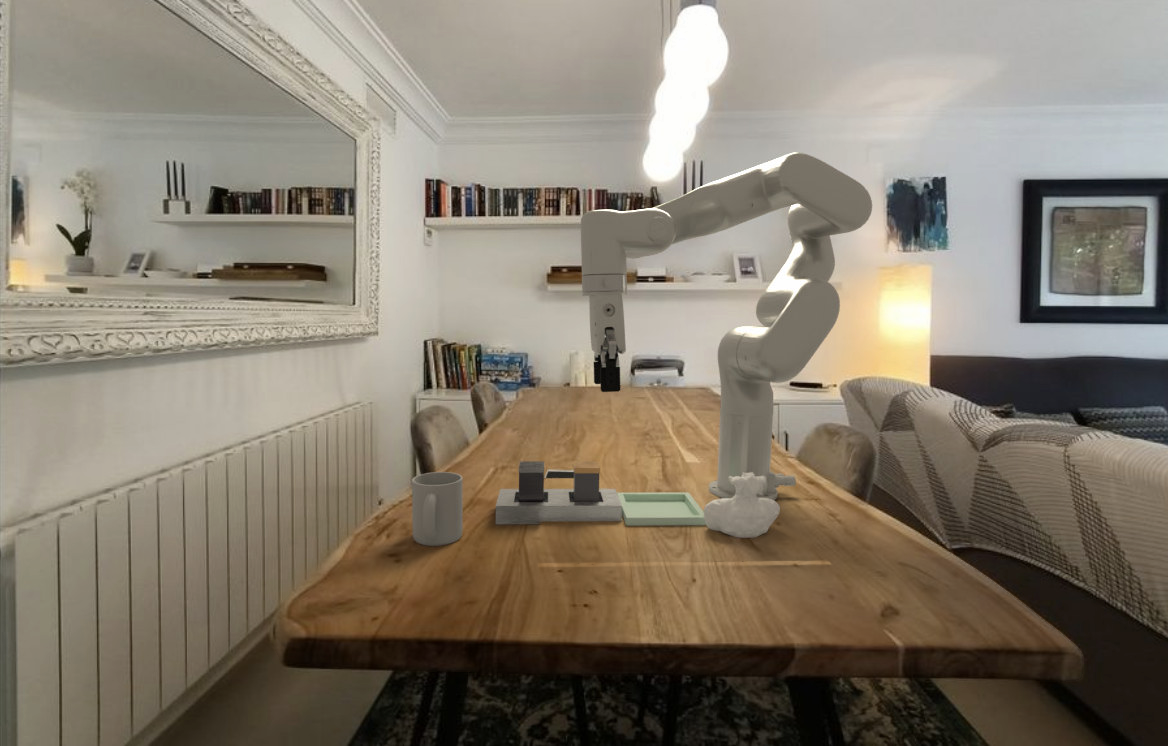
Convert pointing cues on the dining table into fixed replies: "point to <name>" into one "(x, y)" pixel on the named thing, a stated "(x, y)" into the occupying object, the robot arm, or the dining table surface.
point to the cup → (437, 508)
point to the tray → (660, 509)
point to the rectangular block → (586, 482)
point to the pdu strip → (551, 501)
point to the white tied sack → (742, 509)
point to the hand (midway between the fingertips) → (606, 387)
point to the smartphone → (559, 474)
